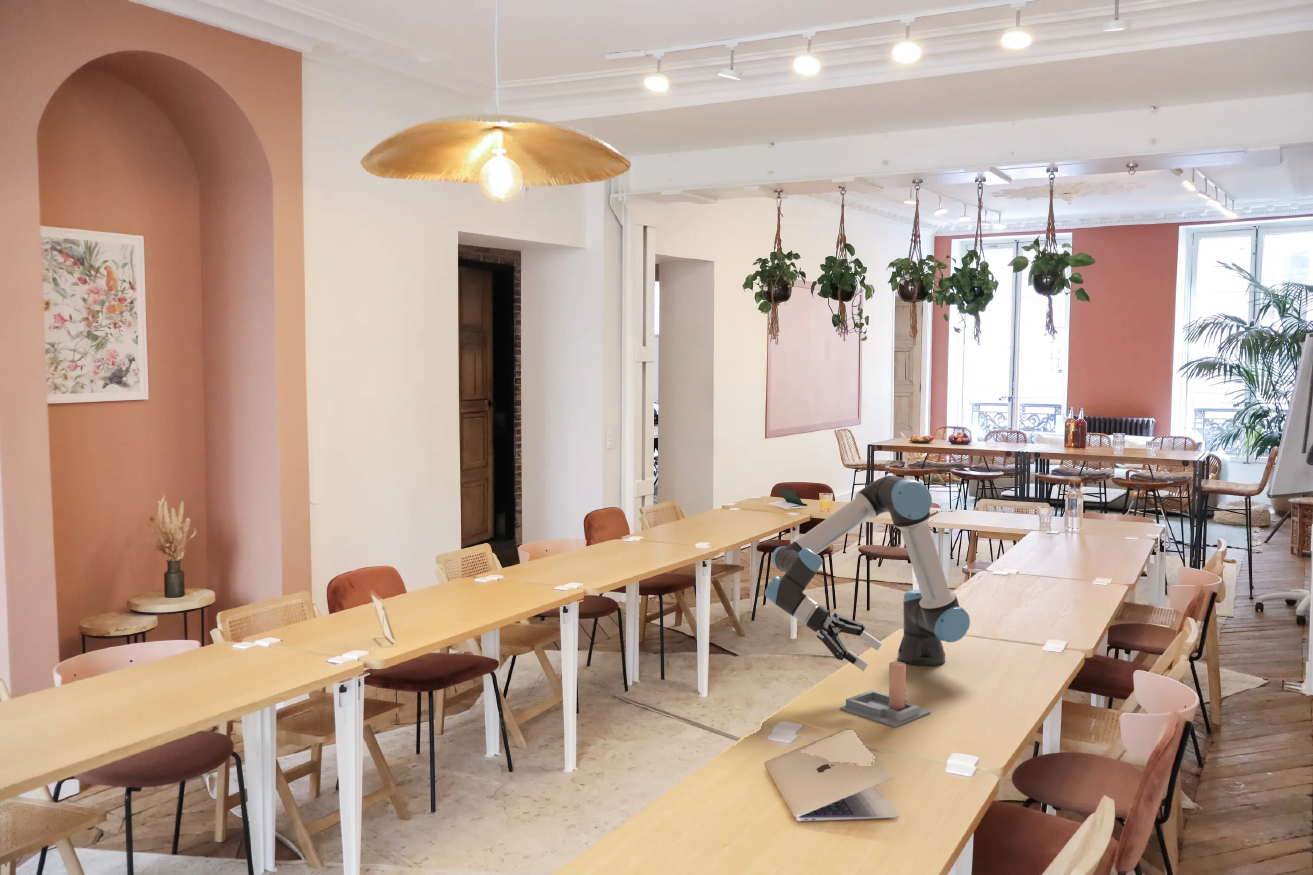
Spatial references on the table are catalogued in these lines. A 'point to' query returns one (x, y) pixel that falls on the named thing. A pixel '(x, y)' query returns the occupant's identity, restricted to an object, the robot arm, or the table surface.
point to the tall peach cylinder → (897, 686)
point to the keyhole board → (882, 709)
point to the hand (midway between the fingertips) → (873, 657)
